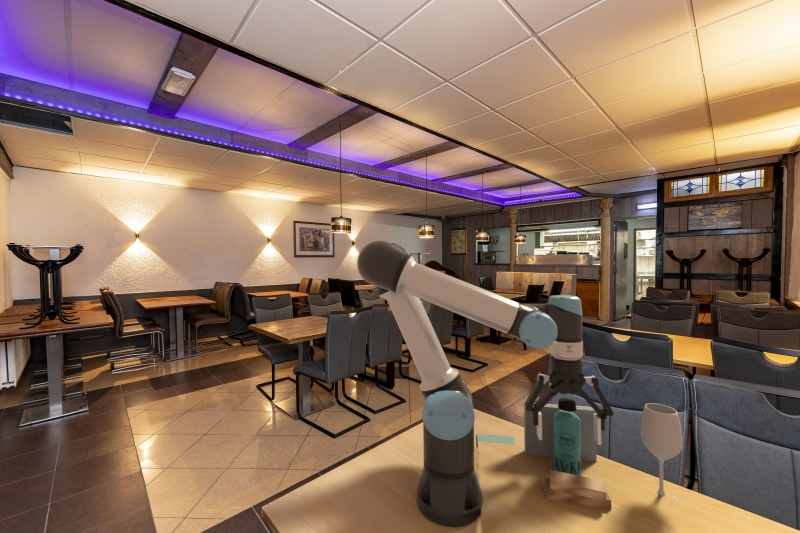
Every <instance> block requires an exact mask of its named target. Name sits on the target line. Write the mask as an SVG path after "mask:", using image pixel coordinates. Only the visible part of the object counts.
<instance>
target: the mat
mask: <svg viewBox="0 0 800 533" xmlns="http://www.w3.org/2000/svg"><path fill="white" fill-rule="evenodd" d="M476 439H477V442H483V443H494V444H504V445H513V446H514V445H516V443H515V439H514V436H510V435H501V434H500V435H499V434H487V433H477V434H476ZM477 454H478V455H479V452H477Z"/></svg>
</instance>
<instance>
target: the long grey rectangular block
mask: <svg viewBox="0 0 800 533" xmlns="http://www.w3.org/2000/svg"><path fill="white" fill-rule="evenodd" d="M525 402H526V401H524V402H523V415H524V416H523V420H524V421H523V426H524V427H523V428H524V429H523V430H524V431H523V432H524V433H523V434H524V439H523V440H524V442H523V443H524V453H525V455H526V456H532V457H533V456H534V457H542V458H552V459H553V436H554V417H553V416H554V414H555V413H556V412H557V411H559V410H561V409H559V408H558V404H557V403H556V404H555V403H547V404H546V405H545V406H544V407H543V408H542V409H541V410H540V412H541V414H542V440H539V438H538V436H537V425H534V423H533V421H532V411H528V410H527V409H526V407H525ZM535 403H536V402H535ZM535 403H534V404H535ZM574 413H575V414H576V415H577V416H578V417H579V418H580V419H581V447H582V448H581V454H582V455H581V462H582V461H583V462H592V463H597V461H598V460H597V457H598V456H597V443H596V441H595V440H594V422H593V414H597V412H596V411H595V410H594V409H593V408H592V407H591V406H587V405H586V406H585V405H576V411H574Z"/></svg>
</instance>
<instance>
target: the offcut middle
mask: <svg viewBox="0 0 800 533" xmlns="http://www.w3.org/2000/svg"><path fill="white" fill-rule="evenodd" d="M542 479H543V480H542V481H543V482H542V483H543V484H542V486H543V490H544V494H545V499H546V500H547V499H548V501H553V500H554V502H561V503H569V504H574V505H581V506H585V507H586V506H587V507H592V508H599V509H603V510H604V509H606V510H612V499H611V497H610V495H609V493H608V492H607V490H606V502H605V501H601V500H596V499H592V498H588V497H583V496H579V495H575V494H570V493H566V492H562V491H557V490H553V489H550V478H542Z"/></svg>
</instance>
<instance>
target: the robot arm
mask: <svg viewBox="0 0 800 533" xmlns="http://www.w3.org/2000/svg"><path fill="white" fill-rule="evenodd" d="M414 258H415V257H414V256H412V255H409V253H408V251H407V250H406V249H405V248H404V247H403V246H401V245H399V244H397V243H394V242H389V241H385V240H374V241H371V242H369V243H367V244H366V245H365V246H364V247H362V249H361V250H360V251H359V254H358V256H357V259H356V260H357V261H356V263H357V271H358V273H359V275H360V277H361V278H362V279H363V280H364V281H365V282H366V283H368V284H370V285H372V286H374V287H375V289H376V291H377V295H378V296H379V298H382V299H383V300H384V299H385V301H386V302H387V304H388V305H389V308H390V310H391V312H392V314H393V317H394V319H395V321H396V323H397V326H398V329H399V330H400V332H401V334H402V337H403V339H404V342H405V344H406V347H407V349H408V351H409V353H410V356H411V357H412V358H411V359H412V360H413V362H414V365H415V367H416V369H417V371H418V373H419V377H420V378H421V382H420V385H419V390H420V392H421V395H422V397H423V399H424V403H423V406H422V411H421V412H422V414H421V416H422V423H423V424H422V425H423V426H422V428H423V429H422V430H423V433H422V434H423V438H422V439H423V441H422V444H423V467H422V470H421V473H420V476H419V479H418V483H417V487H416V504H417V507H418V509H419V511H420V512H421V513H422V514H423V516H424V517H426V518H427V519H428V520H430V521H431V522H434V523H436V524H439V525H442V526H445V527H446V526H447V527H461V526H465V525H468V524H471V523H473V522H474V521H476V520H477V519H479V517H480V515H481V514H482V506H483V505H484V504H483V503H484V502H483V501H484V497H483V496H484V495H483V491H482V488H481V486H480V482H479V479H478V475H477V473H476V470H475V469H476V468H475V420H476V419H475V418H476V417H475V416H476V415H475V410H474V402H473V401H474V400H473V395H472V392H471V390H470V388H469V386H468V385H467V384H466V383H465V382H464V380H463V377H462V376H461V374H460V371H459V370H458V369H457V368H454V367H451V364H450V363H449V361H448V358H447V356H446V353H445V352H444V350H443V347H442V345H441V342H440V340H439V338H438V336H437V333H436V331H435V329H434V327H433V325H432V322H431V320H430V318H429V316H428V314H427V311H426V309H425V307H424V304H423V302H422V300H424V301H426V302H427V303H431V304H433V305H436V306H438V307H440V308H443V309H445V310H448V311H450V312H452V313H455V314H457V315H460V316H462V317H464V318H467V319H470V320H473V321H475V322H477V323H480V324H482V325H484V326H487V327H489V328H492V329H494V330H496V331H500V332H501V333H505V334H507V335H509V336H510V337H512V338H515V339H517V340H519V341H522V342H523V343H524V344H525V345H527V346H529V347H531V348H534V349H538V350H539V349H540V350H542V349H546V348H549V354H550V357H549V364H550V365H549V367H550V369H549V370H550V372H549V374H542V373H541V372H537V374H536V381H535V382H534V384H533V386H532V389H531V391H530V393H529V395H528V397H527V398H526V401H524V402H525V407H526V409H527V410H528V411H532V421H533V423H534V425H537V436H538V438H539V440H542V414H541V412H540V410H541V409H542V408H543V407H544V406H545V405H546V404H549V402H550V401H551V400H552V399H553V398H554V397H555V396H557V395H558V394H561V395H567V394H569V395H573V396H575V395H576V394H577V393H578V394H579V395H580V396H581V397H582V398H583V400H585V401H586V403H587V404H588V405H589V407H592V408H593V409H594V410H595V411H596V414H593V422H594V440H595V441H596V445H597V446H602V431H605V430H606V420H607V418H608V416H610V417H613V416H614V414H615V413H614V412H613V410H612V408H611V406H610V404H609V402H608V401H607V399H606V397H605V396H604V394H603V391H602V390H601V387H600V385H599V380H598V378H597V377H596V376H595V375H593V374H590V375H588V376H584V360H583V358H582V357H583V355H584V348H583V306H582V300H581V298H580V297H578V296H576V295H568V294H559V295H558V294H556V295H550V296H549V297H548V301H547V302H546V303H520V302H517V301H514V300H512V299H509V298H507V297H504V296H502V295H499V294H497V293H494V292H492V291H490V290H487V289H485V288H482V287H479V286H476V285H474V284H472V283H469V282H466V281H464V280H462V279H458V278H456V277H454V276H452V275H449V274H446V273H445V272H444V273H443V272H442V271H438V270H435V269H433V268H430V267H428V266H426V265H423V264H420V263H418V262H416V260H415V259H414ZM548 381H549V382H550V385H549V386H548V388H547V390H546V391H544V393H543V394H542V395H541V396H540V397H539V395H540V393H541V391H542V389H543V387H544V384H546V383H547V382H548ZM586 383H587V385H589V386H590V388H591V389H592V391H593V393H594V394H595V396H596V397H597V399H598V401H599V403H600V405H601V407H602V408H600V407H599V406H598V405H597V404H596V403H595V402H594V400H592V398H591V397H590V396H589V395H588V394H587V393H586V392H585V391H584V390H583V387H584V386H585V385H586ZM538 397H539V398H538ZM534 403H535V404H534Z"/></svg>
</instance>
